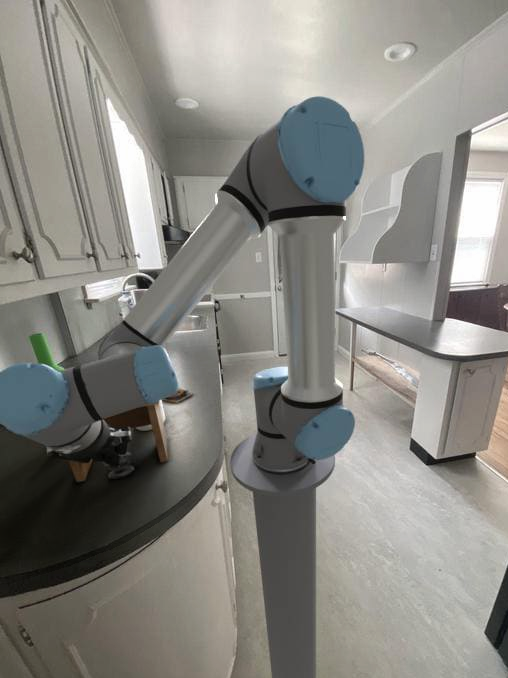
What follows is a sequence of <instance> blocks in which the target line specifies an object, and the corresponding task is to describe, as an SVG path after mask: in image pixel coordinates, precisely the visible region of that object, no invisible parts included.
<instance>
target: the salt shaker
mask: <svg viewBox="0 0 508 678" xmlns="http://www.w3.org/2000/svg"><path fill="white" fill-rule="evenodd" d="M110 426H111V425H109V424H108V427H109V428H113V429H115V431H118V430H117V428H114V427H110ZM113 442H114V443H115V444H116V445H119V444H118V440H117V439H115V440H114V441H113ZM132 457H133V453H132V452H129V451H127V452H126V454H124V455H121V457H120V458H119V463H120V465H115V466H110V465H108V464H107V463H105V462H104V461H103V462H102V463H103V465H104V466H105V468H107V470H109V471H110V472H109V473H108V478H109V479H112V480H113V479H122V478H124V477H126V476H128V475H130V474H132V473H133V472H134V470H135V467H134V466H133V465H131V462H132Z"/></svg>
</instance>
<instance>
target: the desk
mask: <svg viewBox="0 0 508 678" xmlns="http://www.w3.org/2000/svg"><path fill="white" fill-rule="evenodd" d="M103 420H104V421H105V422H106V424H107V425H108V424H109V425H111V426H110V427H114V428H117V430H121V429H123V428H124V427H130V429H131V430H132V429H137V428H136V427H141V426H146V425H152V432H153V437H154V441H155V445H156V450H157V453H158V458H159V461H160V463H165V462H168V461H169V460H168V458H169V457H168V438H167V434H166V429H165V424H164V423H163V420H162V415H161V411H160V407H159V401H158V402H156V403H153V404H151V403H150V404H147V405H144V406H141V407H138V408H135V409H132V410H129V411H126V412H123V413H120V414H117V415H114V416H111V417H108V418H105V419H103ZM92 462H93V460H92V459H91V460H90V462H88V463H82V462H77V461H72V460H68V463H69V466H70V468H71V471H72V473H73V475H74V478H75V481H76V483H82V482H85V481H86V479H87V477H88V473H89V470H90V468H91V465H92Z"/></svg>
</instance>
